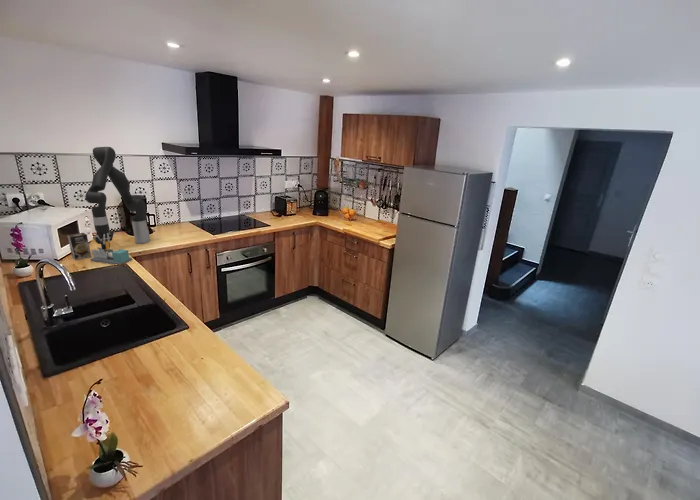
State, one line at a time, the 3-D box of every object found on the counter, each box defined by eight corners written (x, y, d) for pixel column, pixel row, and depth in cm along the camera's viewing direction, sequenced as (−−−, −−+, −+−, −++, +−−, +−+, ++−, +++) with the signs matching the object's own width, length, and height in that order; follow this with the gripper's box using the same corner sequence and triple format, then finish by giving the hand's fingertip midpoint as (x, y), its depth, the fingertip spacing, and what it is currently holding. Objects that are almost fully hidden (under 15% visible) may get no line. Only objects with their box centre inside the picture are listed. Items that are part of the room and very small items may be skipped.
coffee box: (75, 260, 223) (70, 237, 218) (72, 258, 227) (66, 235, 221) (92, 257, 230) (87, 234, 224) (88, 254, 234) (83, 232, 228)
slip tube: (103, 257, 225) (100, 242, 221) (108, 255, 228) (105, 240, 224) (120, 259, 223) (117, 244, 219) (124, 257, 226) (121, 242, 222)
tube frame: (90, 261, 224) (88, 250, 221) (104, 255, 233) (101, 245, 231) (119, 265, 220) (117, 254, 217) (131, 259, 229) (130, 249, 227)
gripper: (105, 219, 225) (110, 244, 231) (86, 225, 212) (91, 251, 218) (115, 221, 224) (119, 245, 230) (96, 226, 211) (101, 252, 217)
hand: (106, 248), depth 224 cm, fingers closed on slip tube, 2 cm apart
